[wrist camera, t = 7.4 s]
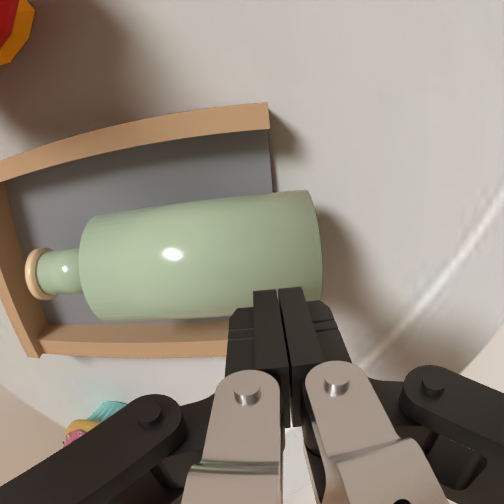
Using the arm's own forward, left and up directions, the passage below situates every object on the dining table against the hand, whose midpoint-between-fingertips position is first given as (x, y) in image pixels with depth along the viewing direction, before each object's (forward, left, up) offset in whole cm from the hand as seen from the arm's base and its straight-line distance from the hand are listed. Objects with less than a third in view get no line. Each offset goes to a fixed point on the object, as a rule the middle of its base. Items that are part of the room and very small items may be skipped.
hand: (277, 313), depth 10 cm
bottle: (-2, 0, -5) cm, 5 cm away
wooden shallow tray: (+8, 0, -8) cm, 12 cm away
